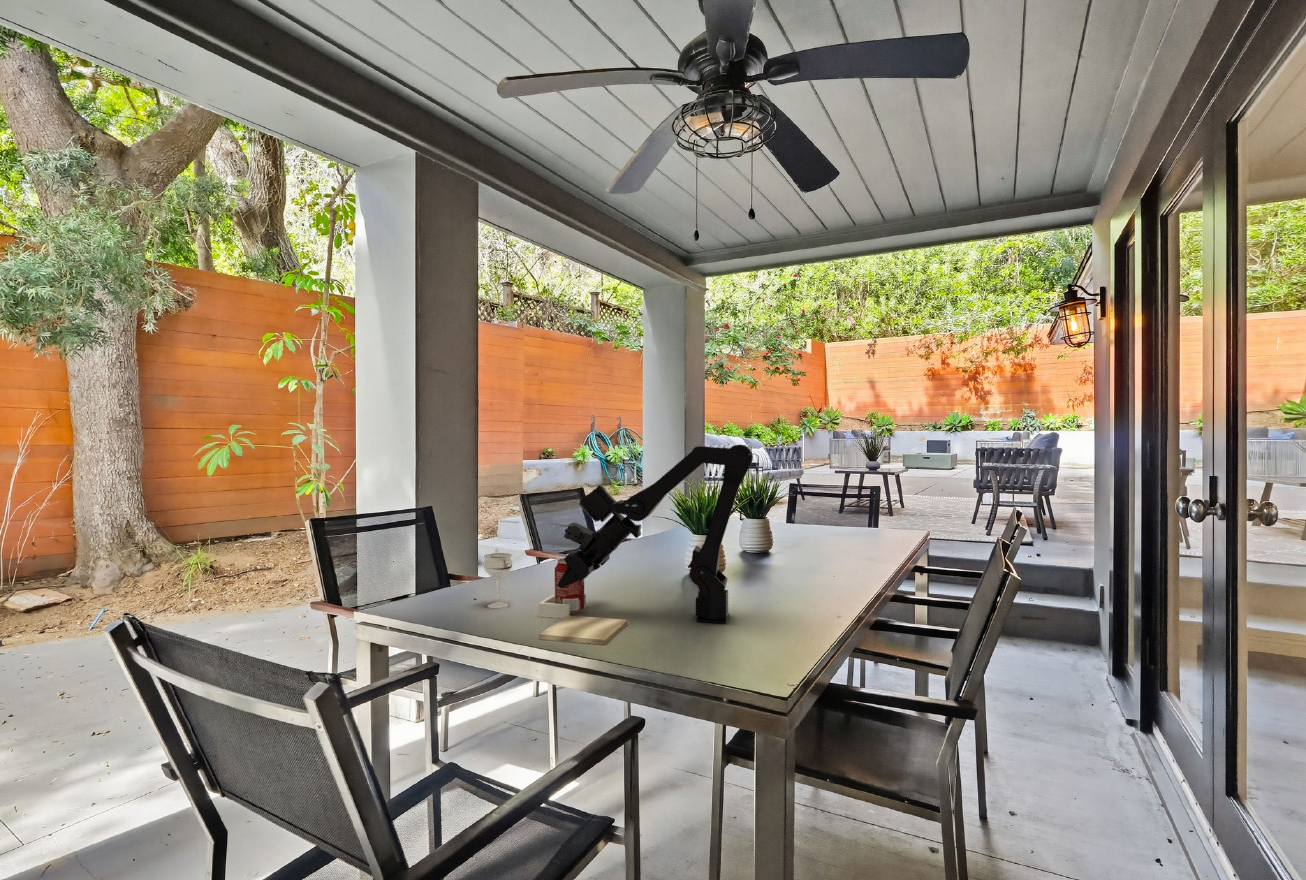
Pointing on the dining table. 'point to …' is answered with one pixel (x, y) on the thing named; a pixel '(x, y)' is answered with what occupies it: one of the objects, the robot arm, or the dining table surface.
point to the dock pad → (584, 630)
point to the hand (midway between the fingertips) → (563, 583)
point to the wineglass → (497, 571)
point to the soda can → (569, 590)
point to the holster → (554, 608)
